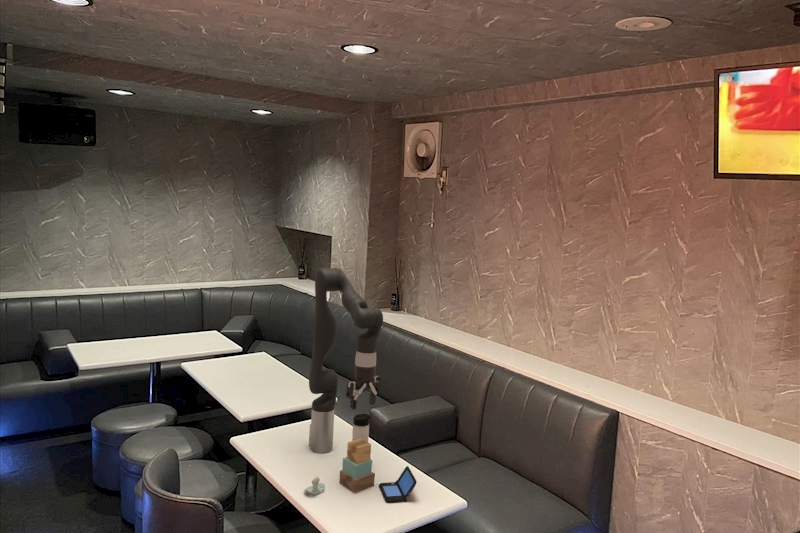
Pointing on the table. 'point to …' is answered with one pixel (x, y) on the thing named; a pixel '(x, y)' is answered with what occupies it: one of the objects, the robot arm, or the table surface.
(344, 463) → the top block
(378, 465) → the table surface
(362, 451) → the oak cube
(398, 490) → the handheld game console
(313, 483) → the pacifier
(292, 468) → the table surface
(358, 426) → the travel mug
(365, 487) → the bottom block
